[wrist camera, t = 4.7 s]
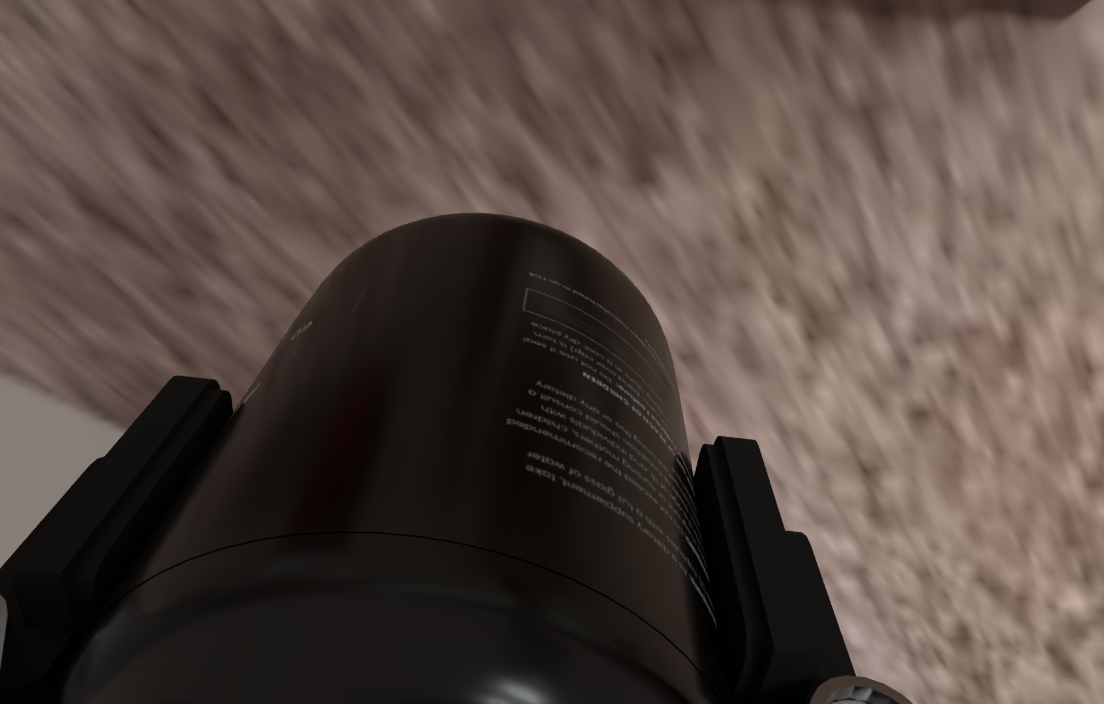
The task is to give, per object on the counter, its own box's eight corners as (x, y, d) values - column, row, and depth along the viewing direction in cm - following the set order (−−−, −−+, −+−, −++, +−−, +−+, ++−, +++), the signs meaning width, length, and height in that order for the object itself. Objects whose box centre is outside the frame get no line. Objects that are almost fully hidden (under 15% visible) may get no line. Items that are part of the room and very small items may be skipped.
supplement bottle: (241, 244, 14) (-769, 1272, 4) (638, 163, 13) (848, 1225, 3) (370, 545, 17) (36, 1553, 7) (696, 496, 16) (894, 1578, 6)
